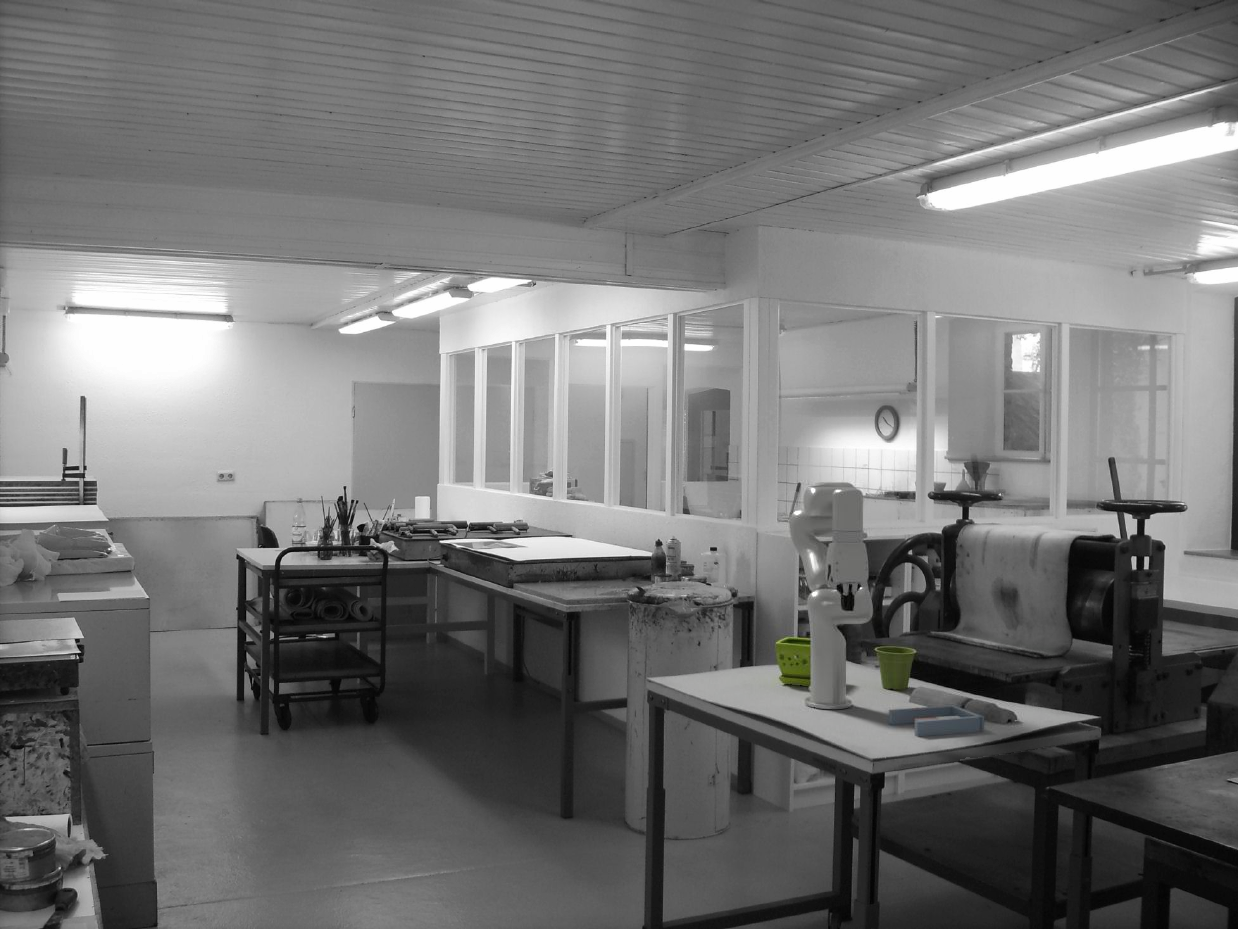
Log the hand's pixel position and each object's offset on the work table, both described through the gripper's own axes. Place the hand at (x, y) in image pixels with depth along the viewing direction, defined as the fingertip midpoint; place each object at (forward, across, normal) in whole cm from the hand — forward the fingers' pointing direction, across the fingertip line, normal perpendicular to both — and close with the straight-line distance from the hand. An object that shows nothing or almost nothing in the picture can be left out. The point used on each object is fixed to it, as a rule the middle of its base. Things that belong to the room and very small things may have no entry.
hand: (847, 610), depth 269 cm
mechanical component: (+30, -37, -5) cm, 48 cm away
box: (+29, -20, +8) cm, 36 cm away
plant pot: (+29, -35, -36) cm, 58 cm away
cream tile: (+29, -24, +10) cm, 39 cm away
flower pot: (+30, -12, -50) cm, 59 cm away
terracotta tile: (+29, -18, +10) cm, 36 cm away
